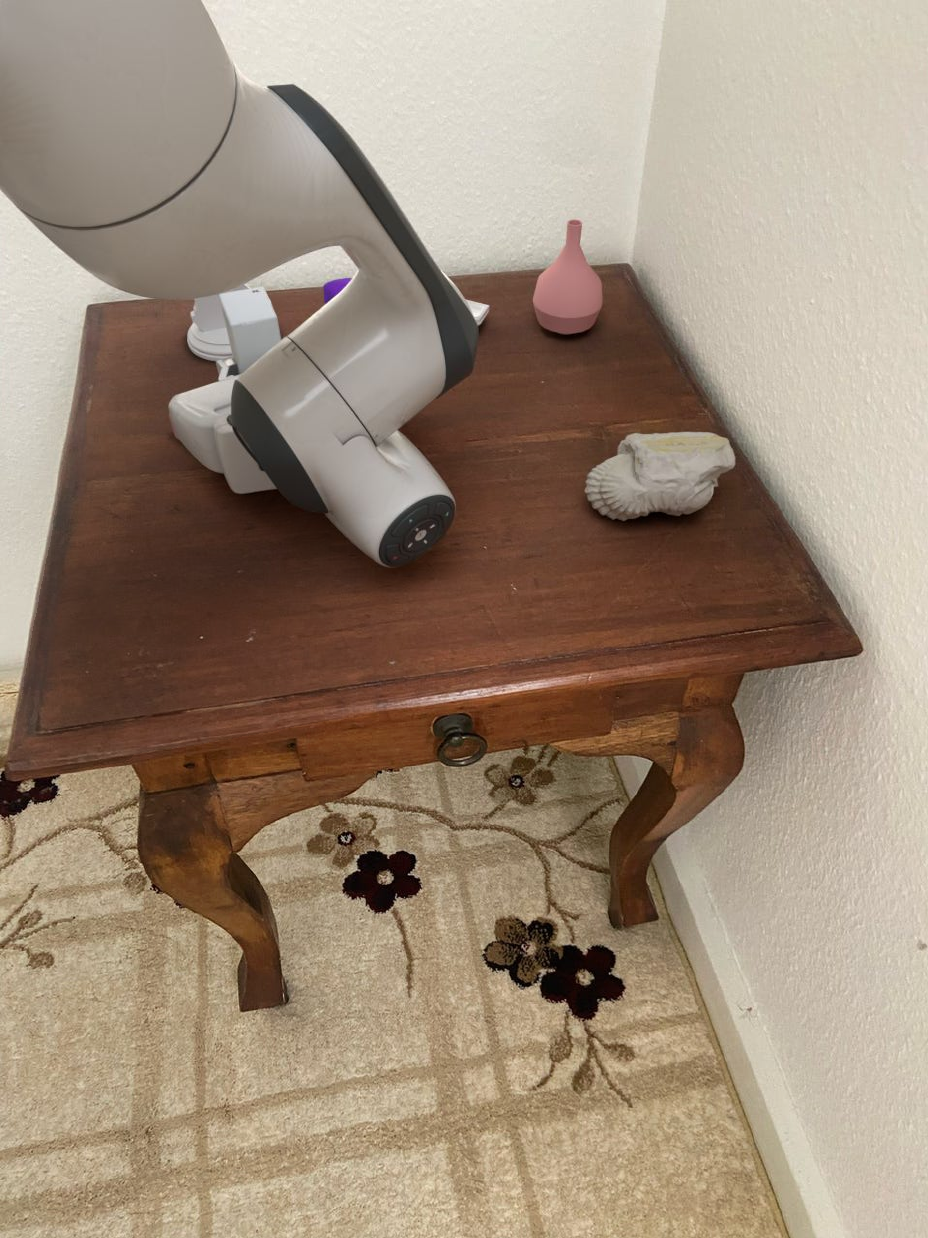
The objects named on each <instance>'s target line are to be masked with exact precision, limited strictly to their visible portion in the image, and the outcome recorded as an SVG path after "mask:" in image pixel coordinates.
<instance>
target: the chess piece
mask: <svg viewBox="0 0 928 1238" xmlns="http://www.w3.org/2000/svg"><path fill="white" fill-rule="evenodd" d="M251 288H252V287H251V286H250V285H249V284H248V283H245V284H243V285H241V286H239V287H237V288H235V289H232V290H229V291H227V292H233V291H239V290H245V289H251ZM227 292H224V293H227ZM220 294H223V293H220ZM193 300H194V305H193V307H192V308H193V309H192V311H190V313H189V314H190V319H191V321H192V324H191V325H190V327H189V328H188V331H187V335H186V336H187V345H188V348H189V350H190V351H191V352H192V353H193V354H194V355H196V356H197V357H199V358H200V359H204V360H206V361H210V362H216V361H218V360H221V359H225V358H228V357H232V358H233V355H232V350H231V346H230V342H229V337H228V333H227V329H226V324H225V320H224V316H223V311H222V307H221V302H220V298H219V294H217V295H213V296H209V297H204V298H197V299H193ZM233 360H234V359H233Z"/></svg>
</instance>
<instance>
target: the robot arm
mask: <svg viewBox="0 0 928 1238" xmlns="http://www.w3.org/2000/svg"><path fill="white" fill-rule="evenodd" d="M0 191H1V192H2V193H3V194H4V196H5V197H6V198H7V199H8V200H9V202H11V203H12V204H13V205H14V206H15V207H16V208H17V209H18V210H19V212H21V214H23V216H25V218H26V219H28V221H29V222H31V224H32V225H34V227H35V228H37V229H38V231H40V232H41V233H42V234H43V235H44V236H45V237H46V238H47V239H48V240H49V241H50V242H51V243H53V245H55V246H56V247H57V248H58V249H59V250H61V252H62V253H64V254H65V255H66V256H67V257H68V258H70V259H71V260H72V261H73V262H75V263H76V264H77V265H78V266H79V267H81V268H82V269H84V270H85V271H86V272H88V273H89V274H91V275H92V276H93V277H95V278H96V279H97V280H99V281H101V282H102V283H105V284H106V285H108V286H110V287H112V288H114V289H117V290H119V291H122V292H124V293H128V294H131V295H134V296H138V297H142V298H148V299H155V300H167V301H182V300H183V301H185V300H194V299H197V298H204V297H209V296H213V295H217V294H220V293H224V292H227V291H229V290H232V289H235V288H237V287H239V286H241V285H243V284H245V283H246V284H248V283H249V282H251V281H254V280H255V279H257V278H258V277H261V276H262V275H264V274H267V273H268V272H270V271H272V270H274V269H276V268H277V267H280V266H282V265H284V264H286V263H288V262H290V261H293V260H295V259H297V258H299V257H302V256H305V255H307V254H310V253H314V252H316V251H319V250H323V249H326V248H331V247H332V248H333V247H340V248H341V249H342V251H344V252H345V254H346V255H347V257H348V258H349V259H350V260H351V261H352V263H353V264H354V265H355V266H356V267H357V270H356V272H355V274H354V275H353V277H351V278H352V280H351V281H350V282H349V283H348V284H347V286H346V287H345V288H344V289H343V290H342V291H341V292H340V293H339V294H337V295H336V296H335V297H334V298H333V299H331V300H330V301H329V302H328V303H327V304H325V303H324V305H323V306H322V307H320V308H319V309H318V310H316V312H314V313H313V314H312V315H310V316H309V317H308V318H307V319H306V320H305V321H304V322H302V323H301V324H300V325H299V326H297V327H296V328H295V329H294V330H293V331H292V332H290V333H289V334H288V335H287V336H284V337H283V338H281V341H280V342H278V343H277V344H276V345H275V346H274V347H272V348H271V349H270V350H269V351H268V352H266V353H265V354H264V355H263V356H262V357H260V358H259V359H258V360H257V361H256V362H255V363H254V364H252V365H251V366H250V367H249V368H248V369H247V370H246V371H245V372H244V373H242V374H239V373H238V366H237V363H236V361H235V360H233V358H232V357H228V358H225V359H221V360H218V361H215V365H216V370H217V374H218V379H217V381H215V382H213V383H209V384H206V385H203V386H200V387H197V388H193V389H191V390H190V389H189V390H188V391H184V392H181V393H177V394H175V395H173V396H172V398H171V399H170V401H169V403H168V413H169V414H170V417H171V420H172V423H173V426H174V429H175V432H176V434H177V436H178V438H179V439H180V440H179V439H178V440H179V442H181V444H182V445H183V446H184V447H185V448H186V450H187V451H188V452H189V453H190V454H191V455H192V456H193V457H194V458H195V459H196V460H197V462H199V463H200V464H201V465H203V466H204V467H205V468H207V469H208V470H210V471H213V472H215V473H218V474H223V475H224V478H225V480H226V482H227V485H228V486H229V488H230V490H231V491H232V492H233V493H235V494H239V495H245V494H251V493H255V492H256V493H257V492H263V491H271V490H278V492H279V493H280V494H281V495H282V496H283V497H284V498H285V499H286V500H287V501H288V502H289V503H291V505H293V506H294V507H296V508H299V509H303V510H306V511H309V512H313V513H317V514H324V516H325V517H326V518H327V519H328V520H329V521H330V522H331V523H332V524H333V525H334V526H335V528H336V529H338V531H339V532H340V533H341V534H343V536H344V537H345V538H346V539H348V541H350V542H351V543H352V544H353V545H354V546H356V547H357V548H358V549H359V550H360V551H361V552H362V553H364V554H365V555H366V556H368V557H369V558H370V559H372V560H373V561H374V562H375V563H377V564H379V565H381V566H383V567H384V568H385V567H386V568H399V567H403V566H407V565H409V564H410V563H414V562H415V561H418V559H419V558H421V557H422V556H424V555H426V554H427V553H428V552H429V551H430V550H431V549H432V548H434V547H435V545H437V544H438V543H439V542H440V541H441V540H442V539H443V538H444V537H445V536H446V534H447V532H449V531H448V530H449V529H450V528H451V526H452V524H453V521H454V518H455V515H456V510H457V504H456V500H455V498H454V495H453V493H452V492H451V490H450V489H449V487H448V485H447V484H446V482H445V481H444V479H443V478H442V477H441V476H440V474H439V473H438V471H437V470H436V469H435V468H434V466H433V465H432V464H431V463H430V461H429V460H428V459H427V457H426V456H425V455H424V454H423V453H422V452H421V451H420V449H419V448H417V446H416V445H415V444H414V443H412V441H411V440H410V439H409V438H408V437H407V436H406V435H405V434H404V433H402V432H401V431H400V430H399V429H401V428H402V427H403V426H404V425H405V424H406V423H408V422H409V421H410V420H411V419H413V418H414V416H416V415H418V414H419V413H420V412H421V411H422V410H423V409H425V407H427V406H428V405H429V404H430V403H432V402H433V401H434V400H436V399H439V398H440V397H442V396H443V395H444V394H446V393H448V391H450V390H451V389H453V388H454V387H455V386H457V385H459V384H460V383H461V382H462V381H463V382H464V380H466V379H467V378H468V377H470V376H471V375H472V373H473V370H474V366H475V362H476V358H477V353H478V348H479V347H478V346H479V335H480V333H479V331H480V329H479V326H478V325H477V323H476V321H475V319H474V316H473V313H472V311H471V309H470V307H469V305H468V303H467V301H466V300H467V299H466V298H465V296H464V295H463V294H462V293H461V291H460V290H459V288H458V286H457V285H456V284H455V283H454V282H453V281H452V279H451V278H450V277H448V275H447V274H446V273H444V272H443V271H442V270H441V268H440V267H439V266H438V264H437V263H436V261H435V260H434V258H433V257H432V255H431V253H430V251H429V250H428V249H427V247H426V246H425V244H424V242H423V240H422V239H421V238H420V236H419V234H418V232H417V231H416V229H415V228H414V227H413V225H412V224H411V222H410V220H409V218H408V217H407V216H406V214H405V213H404V211H403V209H402V207H401V206H400V204H399V203H398V201H397V200H396V198H395V197H394V195H393V193H392V192H391V190H390V189H389V187H388V186H387V185H386V183H385V182H384V180H383V178H382V177H381V176H380V174H379V173H378V171H377V170H376V169H375V167H374V166H373V164H372V163H371V162H370V160H369V159H368V157H367V156H366V154H365V152H363V150H362V149H361V148H360V146H359V145H358V144H357V142H356V141H355V139H354V137H352V136H351V134H350V133H349V132H348V131H347V129H345V128H344V126H343V125H342V124H341V123H340V122H339V121H338V120H337V119H336V118H335V117H334V116H333V115H332V114H331V113H330V112H329V110H327V109H326V107H324V106H323V105H322V104H321V102H319V101H318V100H316V98H314V97H312V95H310V94H309V93H308V92H306V91H305V90H304V89H302V88H300V87H299V86H298V85H296V84H294V83H289V84H272V85H266V86H263V85H261V84H258V83H256V82H255V81H253V80H250V78H247V76H245V75H244V74H243V73H242V71H241V70H240V69H239V68H238V66H237V64H236V63H235V61H234V60H233V58H232V56H231V53H230V51H229V50H228V48H227V46H226V44H225V42H224V40H223V38H222V36H221V34H220V32H219V30H218V28H217V26H216V24H215V22H214V21H213V19H212V17H211V14H210V12H209V10H208V9H207V7H206V5H205V3H204V2H203V0H0Z"/></svg>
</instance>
